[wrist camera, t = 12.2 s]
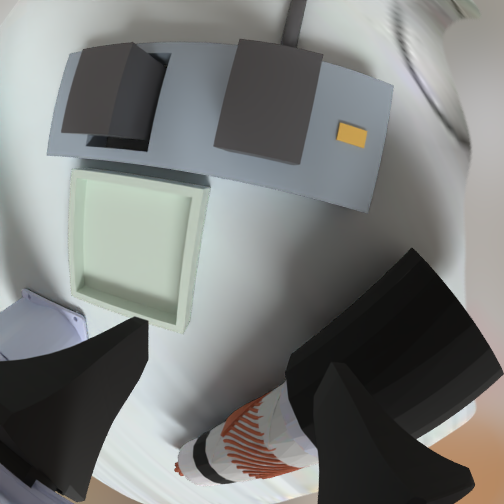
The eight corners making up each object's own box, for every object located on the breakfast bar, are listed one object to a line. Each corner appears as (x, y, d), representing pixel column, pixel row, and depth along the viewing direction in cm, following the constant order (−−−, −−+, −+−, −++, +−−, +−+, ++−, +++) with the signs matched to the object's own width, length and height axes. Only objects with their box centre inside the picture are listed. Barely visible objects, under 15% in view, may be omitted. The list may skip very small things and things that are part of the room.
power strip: (67, 154, 17) (7, 158, 11) (118, -12, 12) (81, -44, 6) (355, 207, 17) (395, 229, 11) (388, 11, 12) (421, -31, 6)
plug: (115, 137, 17) (60, 132, 11) (130, 73, 15) (82, 49, 9) (156, 141, 17) (107, 134, 11) (173, 73, 15) (133, 42, 9)
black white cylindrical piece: (182, 422, 31) (127, 456, 22) (406, 244, 18) (419, 250, 9) (229, 474, 28) (182, 516, 19) (478, 338, 15) (519, 403, 6)
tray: (83, 287, 21) (71, 295, 19) (86, 167, 17) (71, 168, 16) (190, 321, 20) (183, 334, 19) (210, 187, 17) (203, 189, 16)
